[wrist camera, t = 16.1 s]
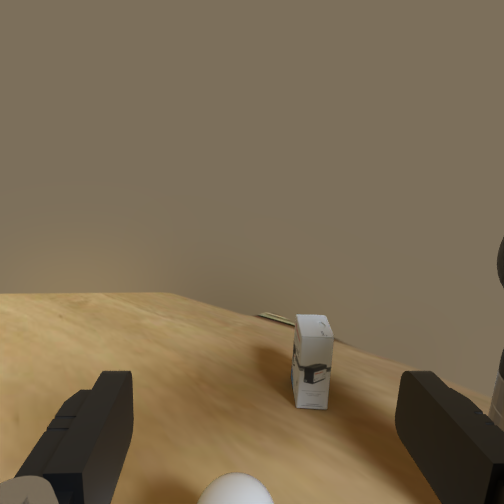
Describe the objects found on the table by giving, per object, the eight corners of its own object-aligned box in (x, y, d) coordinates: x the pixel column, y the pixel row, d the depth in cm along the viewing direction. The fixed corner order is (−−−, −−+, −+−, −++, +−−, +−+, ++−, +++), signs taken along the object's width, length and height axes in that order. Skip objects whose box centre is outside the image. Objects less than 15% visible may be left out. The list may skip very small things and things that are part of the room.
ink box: (290, 376, 62) (295, 312, 60) (319, 378, 62) (325, 314, 60) (294, 409, 54) (300, 335, 51) (327, 410, 54) (335, 337, 51)
